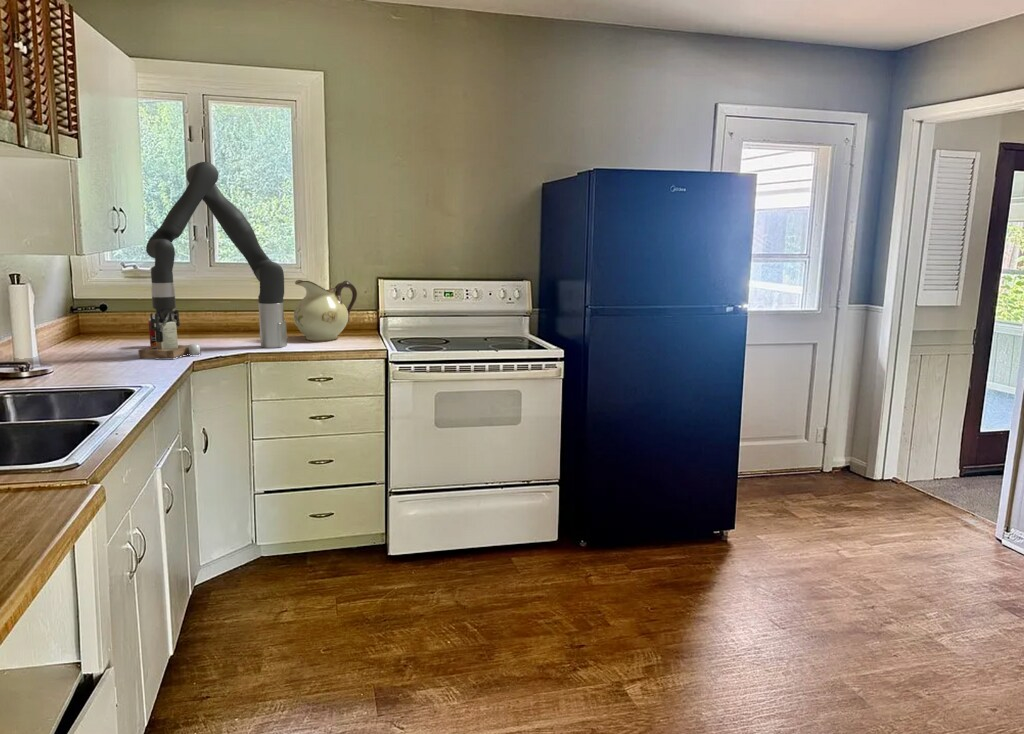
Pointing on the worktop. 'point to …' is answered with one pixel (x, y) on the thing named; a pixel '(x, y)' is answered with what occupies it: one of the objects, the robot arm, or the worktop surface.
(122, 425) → the worktop surface
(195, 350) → the grey round ball
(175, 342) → the skincare box
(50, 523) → the worktop surface
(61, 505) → the worktop surface
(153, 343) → the canned food
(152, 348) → the holder
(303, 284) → the pitcher
